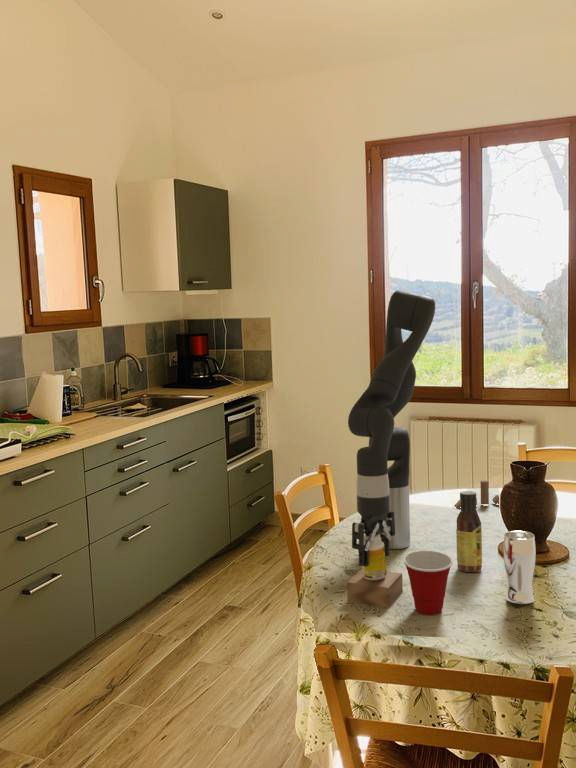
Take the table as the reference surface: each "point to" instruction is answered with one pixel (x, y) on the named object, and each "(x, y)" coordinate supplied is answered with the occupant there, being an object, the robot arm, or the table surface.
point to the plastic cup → (428, 579)
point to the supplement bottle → (375, 560)
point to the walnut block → (375, 589)
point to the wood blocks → (482, 495)
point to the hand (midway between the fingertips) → (374, 560)
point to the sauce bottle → (469, 534)
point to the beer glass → (519, 565)
